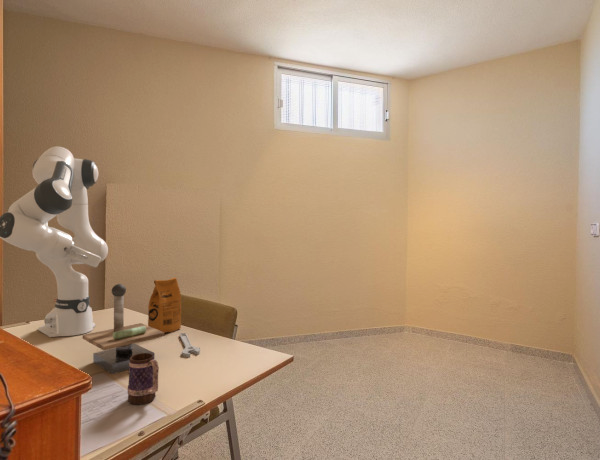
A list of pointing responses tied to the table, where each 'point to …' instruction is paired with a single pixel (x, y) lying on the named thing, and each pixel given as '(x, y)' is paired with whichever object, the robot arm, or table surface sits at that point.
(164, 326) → the coffee package
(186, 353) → the adjustable wrench
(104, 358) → the stand
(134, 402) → the mug
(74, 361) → the table surface
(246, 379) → the table surface
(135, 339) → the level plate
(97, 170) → the robot arm
